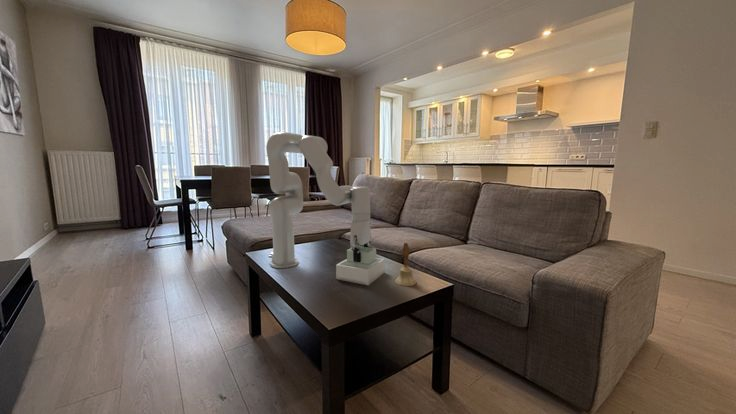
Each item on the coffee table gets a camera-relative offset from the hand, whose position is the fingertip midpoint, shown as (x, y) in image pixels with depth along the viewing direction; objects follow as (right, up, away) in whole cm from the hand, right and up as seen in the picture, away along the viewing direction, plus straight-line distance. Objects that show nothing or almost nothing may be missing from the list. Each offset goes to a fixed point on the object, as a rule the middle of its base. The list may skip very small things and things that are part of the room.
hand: (361, 258), depth 125 cm
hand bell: (+18, -8, -6) cm, 20 cm away
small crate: (0, -1, 0) cm, 1 cm away
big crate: (0, -7, +1) cm, 7 cm away
